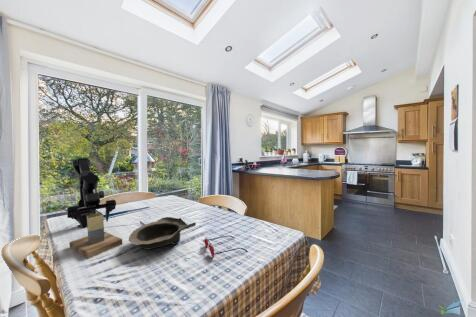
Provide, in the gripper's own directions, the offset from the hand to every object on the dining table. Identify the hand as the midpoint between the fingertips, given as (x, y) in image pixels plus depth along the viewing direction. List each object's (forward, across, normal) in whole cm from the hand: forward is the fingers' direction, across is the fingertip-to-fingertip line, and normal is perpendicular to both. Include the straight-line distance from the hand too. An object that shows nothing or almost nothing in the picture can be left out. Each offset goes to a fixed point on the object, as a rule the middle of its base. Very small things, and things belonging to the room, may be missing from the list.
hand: (95, 224), depth 94 cm
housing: (+5, 0, +6) cm, 8 cm away
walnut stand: (+7, 0, +8) cm, 10 cm away
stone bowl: (+20, +22, -4) cm, 30 cm away
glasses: (+37, +42, -22) cm, 60 cm away
